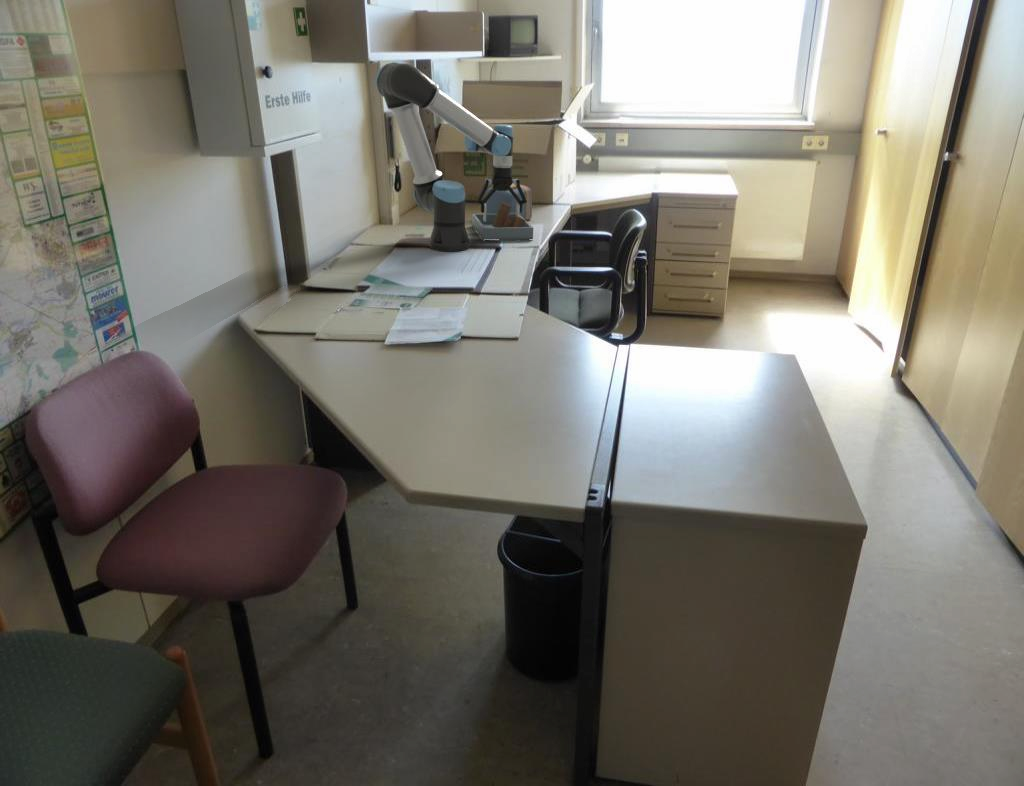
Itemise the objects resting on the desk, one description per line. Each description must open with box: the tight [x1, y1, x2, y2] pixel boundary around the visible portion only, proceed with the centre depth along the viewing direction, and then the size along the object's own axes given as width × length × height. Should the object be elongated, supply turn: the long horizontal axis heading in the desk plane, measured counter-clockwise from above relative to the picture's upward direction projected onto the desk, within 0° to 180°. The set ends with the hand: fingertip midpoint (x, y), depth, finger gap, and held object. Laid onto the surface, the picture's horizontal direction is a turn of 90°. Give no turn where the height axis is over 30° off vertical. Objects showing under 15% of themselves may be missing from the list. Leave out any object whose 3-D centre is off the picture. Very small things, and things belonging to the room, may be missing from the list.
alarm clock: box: [485, 183, 533, 221], centre depth 320 cm, size 16×16×16 cm
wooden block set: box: [492, 202, 527, 228], centre depth 297 cm, size 18×9×10 cm, turn 27°
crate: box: [471, 213, 534, 242], centre depth 297 cm, size 20×28×5 cm
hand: (501, 220), depth 296 cm, fingers open, 13 cm apart
